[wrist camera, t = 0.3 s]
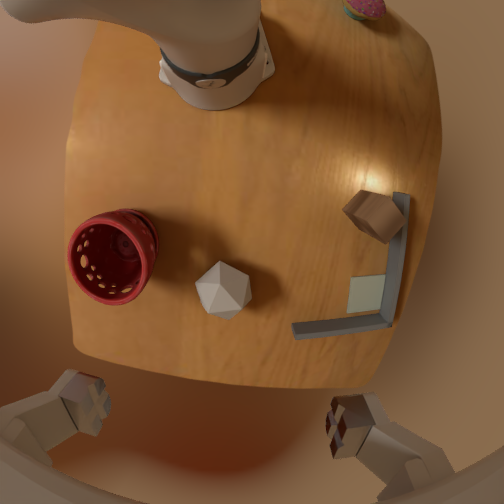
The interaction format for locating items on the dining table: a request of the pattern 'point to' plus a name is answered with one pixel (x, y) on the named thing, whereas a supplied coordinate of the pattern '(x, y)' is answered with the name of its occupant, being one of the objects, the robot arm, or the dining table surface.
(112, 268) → the plant pot
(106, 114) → the dining table surface
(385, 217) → the walnut block
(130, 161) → the dining table surface
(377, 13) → the cupcake
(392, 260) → the grey l-shaped bracket
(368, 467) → the robot arm
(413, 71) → the dining table surface
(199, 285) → the die
